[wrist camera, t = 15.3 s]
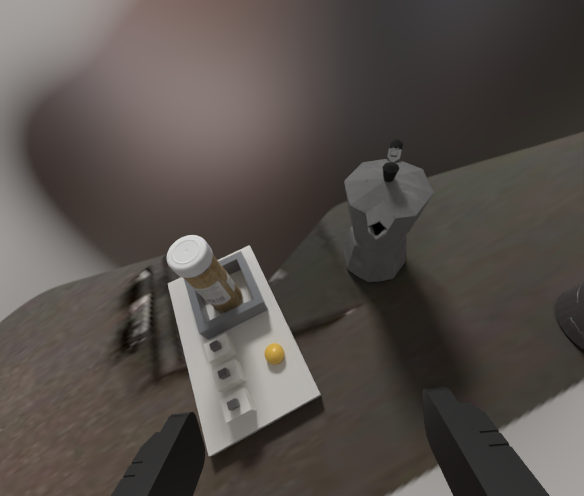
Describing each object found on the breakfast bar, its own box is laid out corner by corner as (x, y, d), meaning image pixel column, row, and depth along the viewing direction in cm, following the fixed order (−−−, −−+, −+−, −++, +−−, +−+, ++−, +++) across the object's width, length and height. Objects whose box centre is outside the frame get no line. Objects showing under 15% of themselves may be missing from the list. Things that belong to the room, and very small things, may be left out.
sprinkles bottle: (246, 287, 42) (212, 235, 31) (237, 317, 40) (196, 272, 29) (218, 283, 43) (175, 231, 32) (207, 312, 41) (157, 267, 30)
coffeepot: (399, 303, 39) (436, 225, 24) (332, 287, 42) (328, 208, 27) (412, 217, 46) (447, 115, 31) (354, 207, 49) (361, 110, 34)
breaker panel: (251, 250, 47) (243, 232, 43) (321, 395, 34) (318, 391, 30) (172, 287, 46) (155, 273, 41) (213, 455, 33) (195, 459, 28)
